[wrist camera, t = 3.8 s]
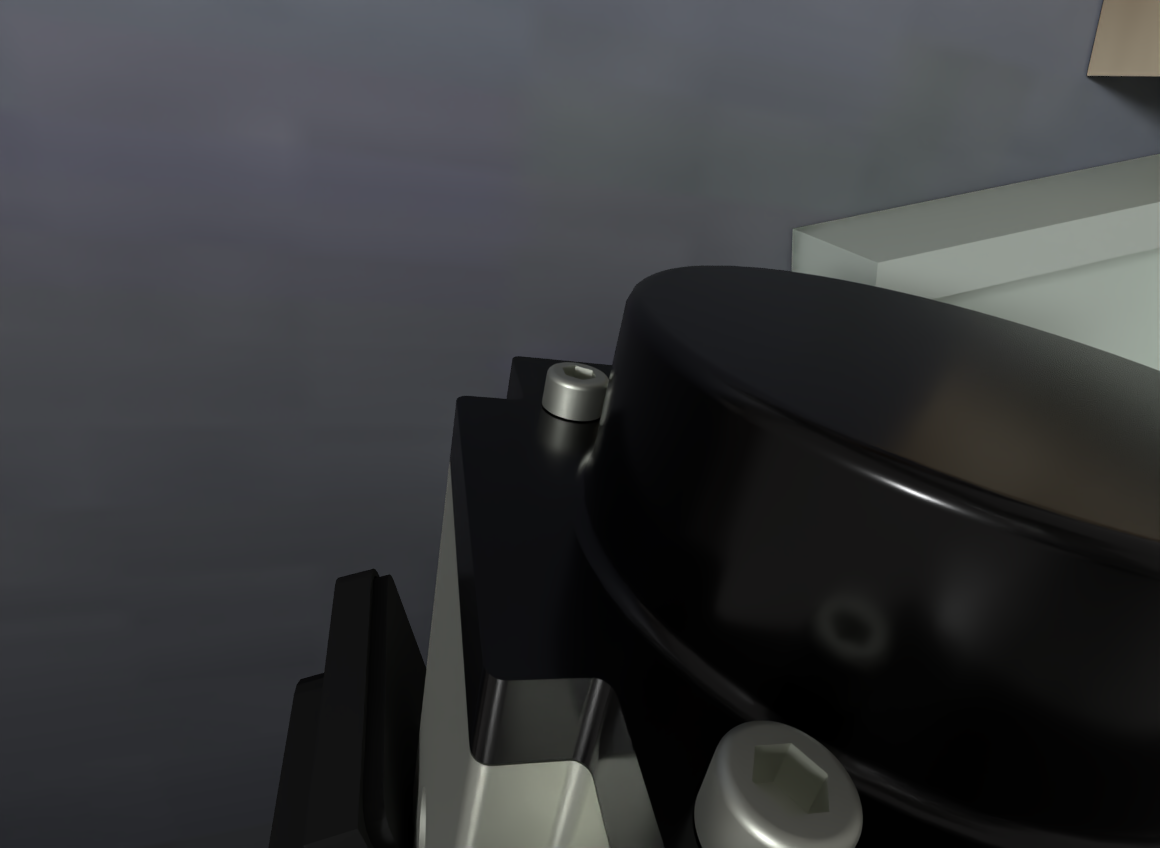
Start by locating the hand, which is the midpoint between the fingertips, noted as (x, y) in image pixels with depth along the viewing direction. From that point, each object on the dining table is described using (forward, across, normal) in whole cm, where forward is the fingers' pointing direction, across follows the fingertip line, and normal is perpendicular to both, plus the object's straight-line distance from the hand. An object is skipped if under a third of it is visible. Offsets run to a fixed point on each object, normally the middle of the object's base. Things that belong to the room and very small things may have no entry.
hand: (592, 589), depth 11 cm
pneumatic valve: (+3, 0, 0) cm, 3 cm away
